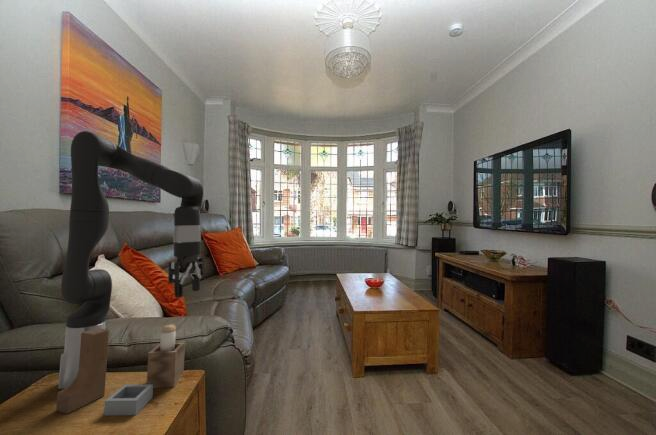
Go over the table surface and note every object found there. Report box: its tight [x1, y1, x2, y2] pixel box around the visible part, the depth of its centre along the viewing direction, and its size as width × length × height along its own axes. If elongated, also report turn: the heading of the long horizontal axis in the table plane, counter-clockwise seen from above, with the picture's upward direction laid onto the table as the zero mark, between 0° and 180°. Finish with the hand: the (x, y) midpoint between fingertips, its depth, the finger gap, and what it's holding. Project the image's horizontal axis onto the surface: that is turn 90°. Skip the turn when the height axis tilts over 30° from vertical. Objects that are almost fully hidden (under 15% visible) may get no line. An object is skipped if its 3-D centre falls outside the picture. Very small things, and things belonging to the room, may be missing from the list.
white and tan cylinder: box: [159, 323, 177, 351], centre depth 88 cm, size 4×4×9 cm
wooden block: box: [55, 328, 110, 415], centre depth 76 cm, size 9×4×18 cm, turn 162°
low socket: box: [103, 383, 154, 416], centre depth 75 cm, size 8×8×4 cm
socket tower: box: [146, 342, 186, 389], centre depth 88 cm, size 8×8×10 cm
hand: (187, 293), depth 87 cm, fingers open, 8 cm apart
